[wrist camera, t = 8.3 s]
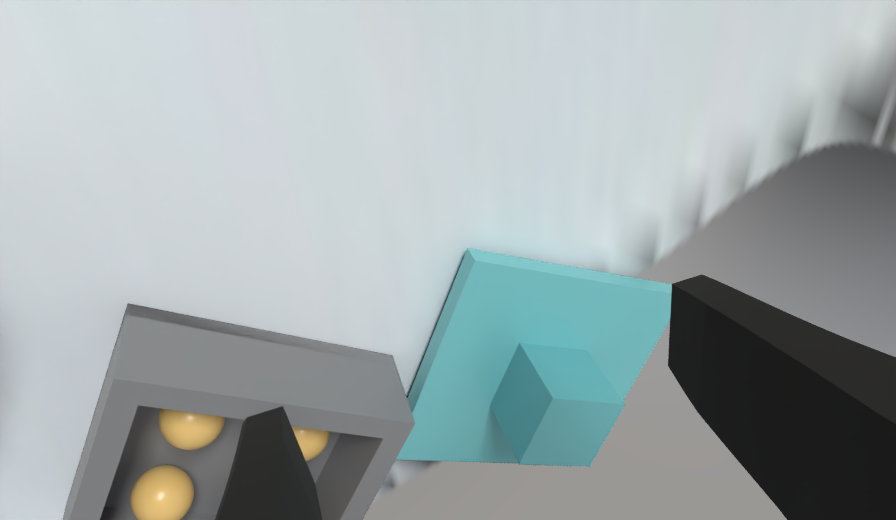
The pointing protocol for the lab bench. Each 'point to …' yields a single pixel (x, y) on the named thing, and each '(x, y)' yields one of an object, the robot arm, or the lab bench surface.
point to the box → (231, 417)
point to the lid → (531, 362)
